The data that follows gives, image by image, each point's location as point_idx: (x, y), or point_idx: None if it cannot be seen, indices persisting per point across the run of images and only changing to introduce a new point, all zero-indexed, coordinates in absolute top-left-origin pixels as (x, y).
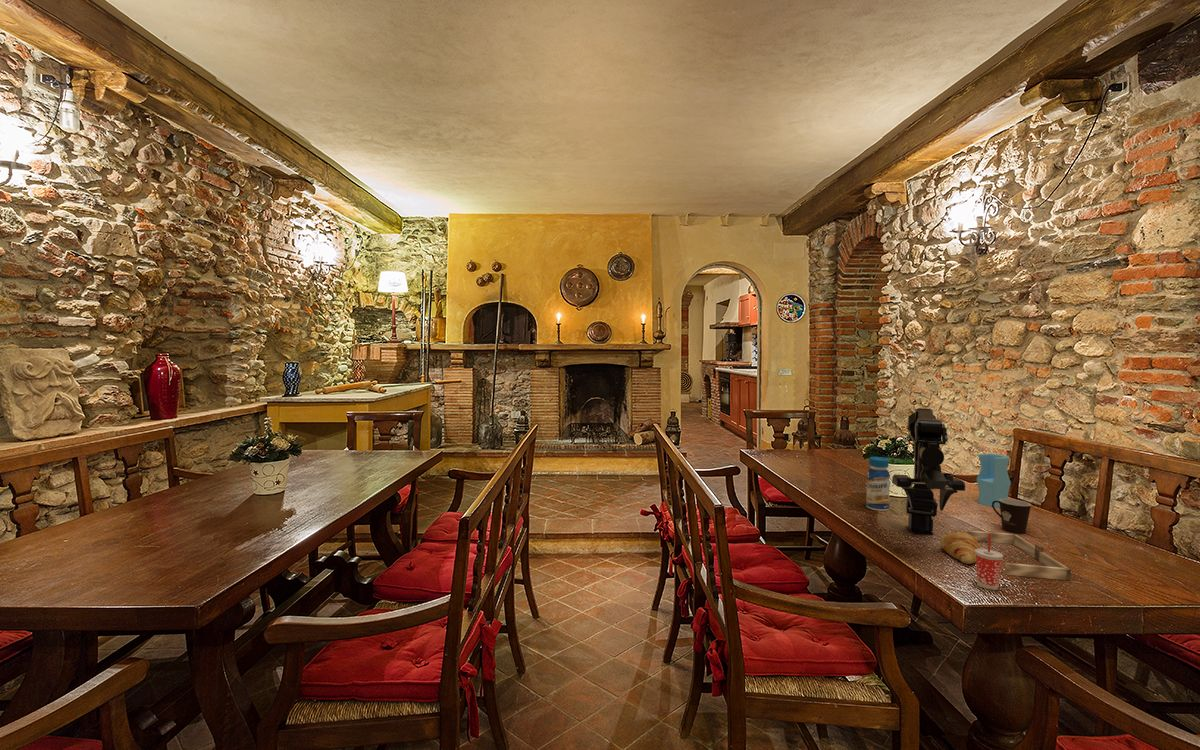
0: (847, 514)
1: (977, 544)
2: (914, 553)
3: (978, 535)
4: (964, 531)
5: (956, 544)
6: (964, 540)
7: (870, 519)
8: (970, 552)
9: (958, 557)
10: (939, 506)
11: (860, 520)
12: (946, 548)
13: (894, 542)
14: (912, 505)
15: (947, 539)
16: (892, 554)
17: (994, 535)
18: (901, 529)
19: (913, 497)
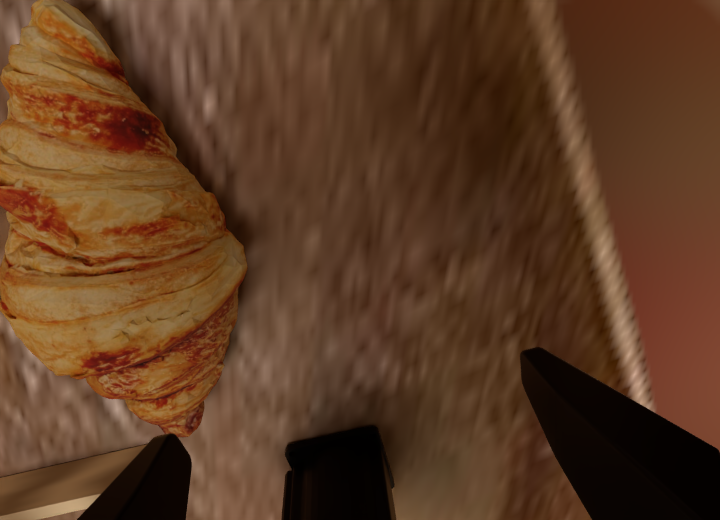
0: None
1: (2, 270)
2: (402, 116)
3: (77, 484)
4: None
5: (128, 187)
6: (63, 238)
7: (527, 500)
8: (17, 78)
9: (134, 93)
10: (185, 510)
11: None
12: (211, 202)
13: (485, 260)
14: (573, 375)
15: (195, 263)
16: (549, 16)
17: (3, 506)
18: (417, 449)
19: (698, 504)
